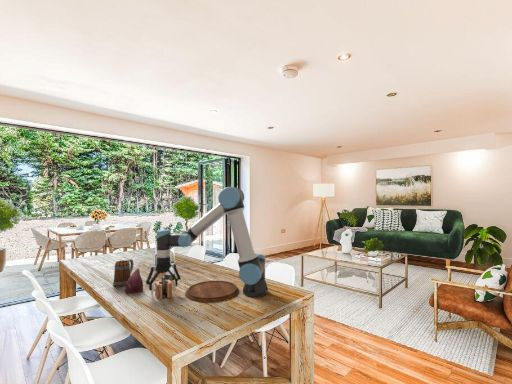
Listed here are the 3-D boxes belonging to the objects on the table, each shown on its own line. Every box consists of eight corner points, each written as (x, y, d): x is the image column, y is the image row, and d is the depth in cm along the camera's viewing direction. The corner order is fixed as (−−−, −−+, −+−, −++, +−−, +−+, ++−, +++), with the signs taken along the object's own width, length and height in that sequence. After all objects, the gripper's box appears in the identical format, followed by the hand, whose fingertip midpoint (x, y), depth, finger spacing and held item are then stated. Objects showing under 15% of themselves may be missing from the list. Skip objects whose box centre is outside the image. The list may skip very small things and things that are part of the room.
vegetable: (137, 292, 170) (141, 268, 175) (145, 293, 164) (149, 268, 168) (121, 292, 163) (125, 267, 167) (128, 294, 156) (133, 267, 161)
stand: (167, 296, 155) (167, 277, 155) (160, 297, 153) (160, 278, 153) (166, 294, 158) (166, 275, 158) (159, 295, 156) (159, 276, 156)
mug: (123, 287, 170) (123, 264, 170) (109, 286, 172) (109, 263, 172) (139, 280, 185) (139, 258, 185) (125, 279, 187) (125, 257, 187)
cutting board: (230, 281, 182) (230, 277, 182) (246, 298, 153) (246, 293, 153) (182, 287, 171) (182, 283, 171) (188, 307, 141) (188, 302, 141)
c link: (172, 297, 154) (172, 283, 154) (157, 299, 150) (157, 285, 150) (169, 292, 161) (169, 279, 161) (155, 295, 157) (155, 281, 157)
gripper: (182, 252, 165) (182, 288, 164) (140, 257, 153) (140, 295, 153) (185, 255, 158) (185, 292, 158) (142, 260, 146) (142, 300, 146)
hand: (163, 293), depth 155 cm, fingers open, 12 cm apart
